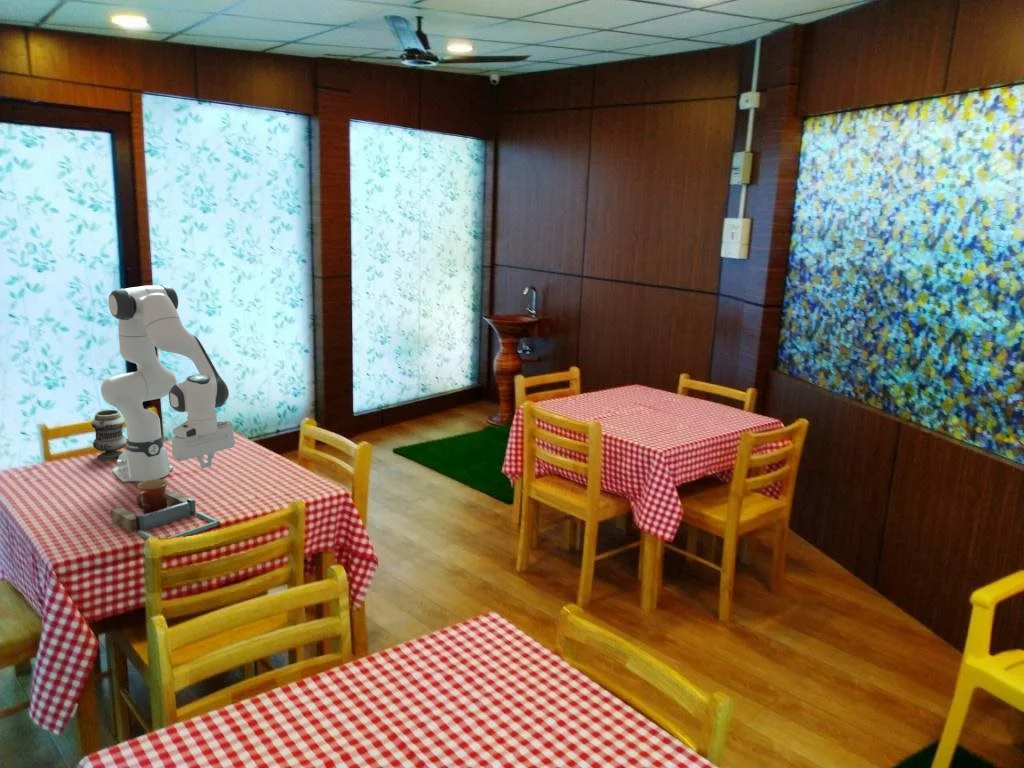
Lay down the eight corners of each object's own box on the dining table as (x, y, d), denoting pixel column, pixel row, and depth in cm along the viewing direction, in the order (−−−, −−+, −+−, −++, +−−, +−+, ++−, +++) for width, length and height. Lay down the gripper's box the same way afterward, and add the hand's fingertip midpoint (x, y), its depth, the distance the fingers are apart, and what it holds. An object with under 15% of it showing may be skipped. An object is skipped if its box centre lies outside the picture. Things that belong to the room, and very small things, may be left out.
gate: (137, 530, 241) (135, 514, 240) (191, 513, 255) (190, 498, 254) (140, 532, 240) (139, 516, 239) (195, 514, 254) (194, 499, 253)
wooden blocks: (111, 521, 248) (110, 509, 247) (174, 502, 264) (173, 491, 263) (132, 532, 240) (130, 520, 240) (195, 512, 257) (194, 500, 256)
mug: (151, 507, 260) (149, 478, 258) (175, 509, 258) (173, 480, 256) (127, 521, 248) (124, 490, 246) (152, 524, 247) (149, 493, 244)
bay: (138, 534, 239) (138, 530, 239) (199, 514, 254) (199, 511, 254) (158, 545, 232) (158, 541, 232) (220, 524, 247) (220, 521, 247)
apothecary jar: (105, 463, 301) (100, 418, 297) (88, 457, 308) (82, 412, 303) (135, 455, 311) (130, 411, 307) (117, 449, 317) (113, 406, 313)
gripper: (226, 417, 262) (229, 457, 265) (167, 430, 246) (171, 472, 249) (237, 420, 258) (240, 461, 261) (178, 434, 243) (182, 477, 246)
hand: (206, 466), depth 255 cm, fingers closed
